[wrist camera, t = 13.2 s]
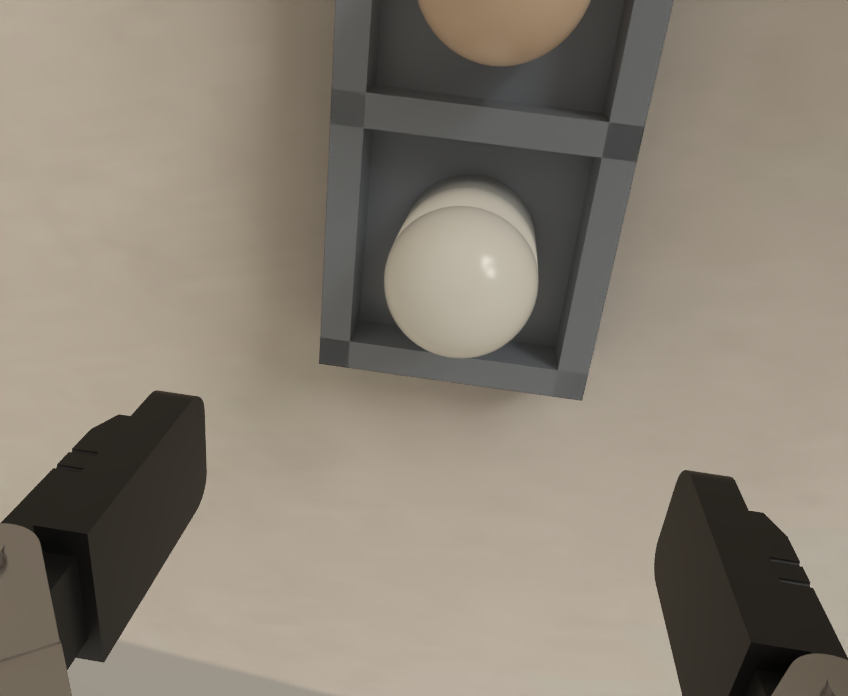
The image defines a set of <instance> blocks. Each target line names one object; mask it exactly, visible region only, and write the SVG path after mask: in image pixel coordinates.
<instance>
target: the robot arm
mask: <svg viewBox="0 0 848 696" xmlns="http://www.w3.org/2000/svg"><path fill="white" fill-rule="evenodd" d="M206 474H207V469H206V440H205V411H204V403H203V401H202V399H201V398H200V397H198V396H191V395H184V394H177V393H171V392H164V391H154V392H152V393H151V394H150V395H149V396H148V398H147V399H146V400H145V401H144V402H143V403H142V404H141V405H140V406H139V408H138V409H137V410H136V411H135V412H134V413H133V414H132V415H131V416H125V415H117V416H115V417H113V418H111V419H109V420H108V421H106V422H104V423H102V424H100V425H98V426H96V427H94V428H92V429H91V430H90V431H89V432H88V433H87V434H86V435H85V436H84V437H83V438H82V439H81V440H80V441H79V442H78V443H77V444H76V445H75V446H74V447H73V448H72V453H70V452H69V453H68V454H67V455H66V456H65V457H64V458H63V459H62V460H61V461H60V462H59V463H58V464H57V468H56V469H55V468H53V469H52V470H51V471H50V472H49V473H48V474H47V475H46V477H45V478H44V479H43V480H42V481H41V482H40V483H39V484H38V485H37V486H36V487H35V488H34V489H33V490H32V491H31V492H30V493H29V494H28V495H27V496H26V497H25V498H24V499H23V500H22V501H21V503H20V504H19V505H18V506H17V507H16V508H15V509H14V510H13V511H12V512H11V513H10V514H9V515H8V516H7V517H6V518H5V519H4V520H3V521H2V522H1V523H0V696H72V693H71V689H70V683H69V678H68V673H67V670H68V668H69V667H70V665H71V664H72V662H73V661H74V659H75V658H82V659H88V660H93V661H99V662H104V661H105V660H106V658H107V656H108V655H109V653H110V652H111V650H112V648H113V647H114V645H115V643H116V642H117V640H118V639H119V637H120V635H121V634H122V632H123V630H124V629H125V627H126V625H127V624H128V622H129V620H130V619H131V617H132V616H133V614H134V612H135V611H136V609H137V607H138V606H139V604H140V602H141V601H142V599H143V597H144V596H145V594H146V593H147V591H148V589H149V588H150V586H151V584H152V583H153V581H154V579H155V578H156V576H157V575H158V573H159V571H160V570H161V568H162V566H163V565H164V563H165V561H166V560H167V558H168V556H169V555H170V553H171V552H172V550H173V548H174V547H175V545H176V543H177V542H178V540H179V538H180V537H181V535H182V533H183V532H184V530H185V529H186V527H187V525H188V524H189V522H190V520H191V519H192V517H193V515H194V514H195V512H196V511H197V509H198V507H199V505H200V502H201V499H202V496H203V493H204V489H205V484H206ZM799 563H800V561H799V559H798V557H797V555H796V553H795V551H794V549H793V547H792V545H791V543H790V541H789V539H788V537H787V536H786V535H785V534H784V533H783V532H782V531H781V530H780V529H779V528H778V527H777V526H776V525H775V524H774V523H773V522H772V521H771V520H770V519H769V518H768V517H767V516H766V515H765V514H764V513H760V512H754V511H748V508H747V506H746V504H745V502H744V500H743V497H742V495H741V493H740V491H739V488H738V486H737V484H736V482H735V480H734V479H733V478H732V477H728V476H722V475H715V474H708V473H701V472H695V471H688V470H684V471H683V472H682V473H681V474H680V475H679V477H678V480H677V482H676V485H675V489H674V492H673V495H672V498H671V501H670V504H669V508H668V511H667V514H666V517H665V520H664V523H663V527H662V530H661V533H660V536H659V539H658V543H657V547H656V553H655V563H654V572H655V581H656V586H657V590H658V595H659V599H660V603H661V607H662V611H663V616H664V620H665V624H666V628H667V632H668V637H669V641H670V645H671V649H672V654H673V658H674V662H675V666H676V670H677V675H678V679H679V683H680V687H681V691H682V696H848V658H847V656H846V654H845V652H844V650H843V647H842V645H841V643H840V641H839V639H838V637H837V635H836V633H835V631H834V629H833V627H832V625H831V623H830V621H829V619H828V617H827V615H826V613H825V611H824V609H823V607H822V605H821V603H820V601H819V599H818V597H817V595H816V593H815V591H814V589H813V588H810V581H809V579H808V577H807V575H806V573H805V571H804V569H803V567H800V566H799Z"/></svg>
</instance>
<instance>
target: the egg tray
mask: <svg viewBox="0 0 848 696" xmlns="http://www.w3.org/2000/svg"><path fill="white" fill-rule="evenodd" d="M672 5H673V0H591V1H590V4H589V6H588V8H587V10H586V12H585V14H584V16H583V17H582V19H581V20H580V22H579V23H578V25H577V26H576V28H575V29H574V30H573V31H572V32H571V34H570V35H569V36H568V37H567V38H566V39H565V40H564V41H563V42H562V43H560V44H559V45H558V46H557V47H556V48H554V49H553V50H551V51H550V52H549V53H547V54H545V55H543V56H541V57H539V58H537V59H535V60H532V61H530V62H527V63H523V64H519V65H515V66H504V67H501V66H489V65H483V64H479V63H476V62H473V61H470V60H468V59H466V58H464V57H462V56H460V55H458V54H457V53H455V52H454V51H452V50H451V49H449V48H448V47H447V46H446V45H445V44H444V43H443V42H442V41H441V40H440V39H439V38H438V37H437V36H436V35H435V33H434V32H433V31H432V29H431V28H430V26H429V25H428V23H427V22H426V20H425V18H424V16H423V14H422V12H421V10H420V7H419V4H418V1H417V0H336V7H335V29H334V51H333V73H332V95H331V116H330V138H329V160H328V182H327V204H326V226H325V248H324V270H323V292H322V314H321V336H320V358H319V364H326V365H333V366H340V367H347V368H354V369H361V370H368V371H375V372H382V373H389V374H396V375H404V376H411V377H418V378H425V379H432V380H439V381H446V382H453V383H460V384H467V385H474V386H482V387H489V388H496V389H503V390H510V391H517V392H524V393H531V394H538V395H545V396H552V397H560V398H567V399H574V400H581V401H582V399H583V394H584V390H585V386H586V381H587V377H588V372H589V368H590V364H591V359H592V355H593V351H594V346H595V342H596V337H597V333H598V329H599V324H600V320H601V316H602V311H603V307H604V302H605V298H606V294H607V289H608V285H609V281H610V276H611V272H612V267H613V263H614V259H615V254H616V250H617V245H618V241H619V237H620V232H621V228H622V224H623V219H624V215H625V210H626V206H627V202H628V197H629V193H630V189H631V184H632V180H633V175H634V171H635V167H636V162H637V158H638V154H639V149H640V145H641V140H642V136H643V132H644V127H645V123H646V119H647V114H648V110H649V105H650V101H651V97H652V92H653V88H654V84H655V79H656V75H657V70H658V66H659V62H660V57H661V53H662V49H663V44H664V40H665V35H666V31H667V27H668V22H669V18H670V14H671V9H672ZM462 174H477V175H483V176H487V177H490V178H493V179H496V180H498V181H500V182H502V183H504V184H505V185H507V186H508V187H510V188H511V189H512V190H513V191H514V192H515V193H517V194H518V196H519V197H520V198H521V199H522V200H523V202H524V203H525V205H526V206H527V208H528V210H529V212H530V214H531V217H532V220H533V223H534V228H535V237H536V250H537V263H538V279H539V283H538V293H537V298H536V302H535V306H534V308H533V311H532V313H531V315H530V317H529V319H528V320H527V322H526V324H525V325H524V327H523V328H522V329H521V331H520V332H519V333H518V334H517V335H516V336H515V337H514V338H513V339H512V340H510V341H509V342H508V343H506V344H505V345H504V346H502V347H501V348H499V349H497V350H495V351H493V352H491V353H488V354H485V355H482V356H479V357H473V358H449V357H444V356H440V355H437V354H434V353H431V352H429V351H427V350H425V349H423V348H421V347H420V346H418V345H416V344H415V343H414V342H413V341H411V340H410V339H409V338H408V337H407V336H406V335H405V334H404V333H403V332H402V331H401V329H400V328H399V327H398V325H397V324H396V322H395V320H394V318H393V317H392V315H391V313H390V310H389V308H388V305H387V301H386V298H385V290H384V271H385V265H386V262H387V258H388V255H389V252H390V250H391V248H392V245H393V243H394V241H395V239H396V237H397V235H398V233H399V231H400V229H401V227H402V225H403V223H404V221H405V219H406V217H407V215H408V213H409V211H410V209H411V207H412V206H413V204H414V203H415V201H416V200H417V198H418V197H419V196H420V195H421V194H422V193H423V192H424V191H425V190H426V189H427V188H429V187H430V186H432V185H433V184H435V183H436V182H438V181H440V180H442V179H445V178H448V177H451V176H456V175H462Z"/></svg>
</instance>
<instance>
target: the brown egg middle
mask: <svg viewBox="0 0 848 696" xmlns="http://www.w3.org/2000/svg"><path fill="white" fill-rule="evenodd" d="M417 1H418V4H419V7H420V10H421V12H422V14H423V16H424V18H425V20H426V22H427V23H428V25H429V26H430V28H431V29H432V31H433V32H434V33H435V35H436V36H437V37H438V38H439V39H440V40H441V41H442V42H443V43H444V44H445V45H446V46H447V47H448V48H449V49H451V50H452V51H454V52H455V53H457V54H458V55H460V56H462V57H464V58H466V59H468V60H470V61H473V62H476V63H479V64H483V65H489V66H501V67H504V66H515V65H519V64H523V63H527V62H530V61H532V60H535V59H537V58H539V57H541V56H543V55H545V54H547V53H549V52H550V51H551V50H553V49H554V48H556V47H557V46H558V45H559V44H560V43H562V42H563V41H564V40H565V39H566V38H567V37H568V36H569V35H570V34H571V32H572V31H573V30H574V29H575V28H576V26H577V25H578V23H579V22H580V20H581V19H582V17H583V16H584V14H585V12H586V10H587V8H588V6H589V4H590V1H591V0H417Z"/></svg>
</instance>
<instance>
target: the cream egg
mask: <svg viewBox="0 0 848 696" xmlns="http://www.w3.org/2000/svg"><path fill="white" fill-rule="evenodd" d="M538 283H539V279H538V263H537V250H536V237H535V228H534V223H533V220H532V217H531V214H530V212H529V210H528V208H527V206H526V205H525V203H524V202H523V200H522V199H521V198H520V197H519V196H518V194H517V193H515V192H514V191H513V190H512V189H511V188H510V187H508V186H507V185H505V184H504V183H502V182H500V181H498V180H496V179H493V178H490V177H487V176H483V175H477V174H462V175H456V176H451V177H448V178H445V179H442V180H440V181H438V182H436V183H435V184H433V185H432V186H430V187H429V188H427V189H426V190H425V191H424V192H423V193H422V194H421V195H420V196H419V197H418V198H417V200H416V201H415V203H414V204H413V206H412V207H411V209H410V211H409V213H408V215H407V217H406V219H405V221H404V223H403V225H402V227H401V229H400V231H399V233H398V235H397V237H396V239H395V241H394V243H393V245H392V248H391V250H390V252H389V255H388V258H387V262H386V265H385V271H384V290H385V298H386V301H387V305H388V308H389V310H390V313H391V315H392V317H393V318H394V320H395V322H396V324H397V325H398V327H399V328H400V329H401V331H402V332H403V333H404V334H405V335H406V336H407V337H408V338H409V339H410V340H411V341H413V342H414V343H415V344H416V345H418V346H420V347H421V348H423V349H425V350H427V351H429V352H431V353H434V354H437V355H440V356H444V357H449V358H473V357H479V356H482V355H485V354H488V353H491V352H493V351H495V350H497V349H499V348H501V347H502V346H504V345H505V344H506V343H508V342H509V341H510V340H512V339H513V338H514V337H515V336H516V335H517V334H518V333H519V332H520V331H521V329H522V328H523V327H524V325H525V324H526V322H527V320H528V319H529V317H530V315H531V313H532V311H533V308H534V306H535V302H536V298H537V293H538Z"/></svg>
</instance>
